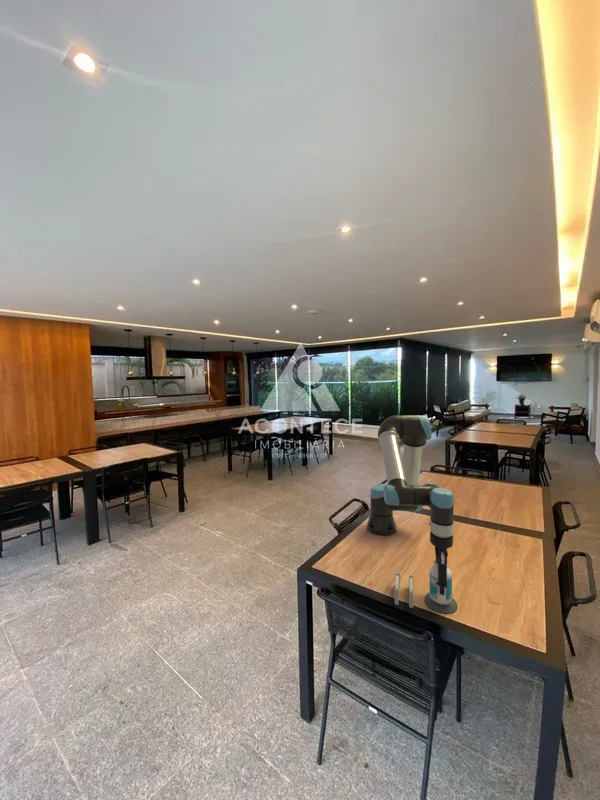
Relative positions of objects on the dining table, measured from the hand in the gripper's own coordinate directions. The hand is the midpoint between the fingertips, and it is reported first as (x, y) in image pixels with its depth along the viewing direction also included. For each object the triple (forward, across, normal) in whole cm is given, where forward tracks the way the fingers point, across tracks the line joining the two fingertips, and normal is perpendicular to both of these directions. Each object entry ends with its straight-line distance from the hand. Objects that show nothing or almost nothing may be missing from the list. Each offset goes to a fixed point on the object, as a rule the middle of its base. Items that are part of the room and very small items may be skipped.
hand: (440, 594), depth 118 cm
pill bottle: (+2, 0, 0) cm, 2 cm away
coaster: (+3, 0, 0) cm, 3 cm away
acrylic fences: (+3, 0, -12) cm, 13 cm away
